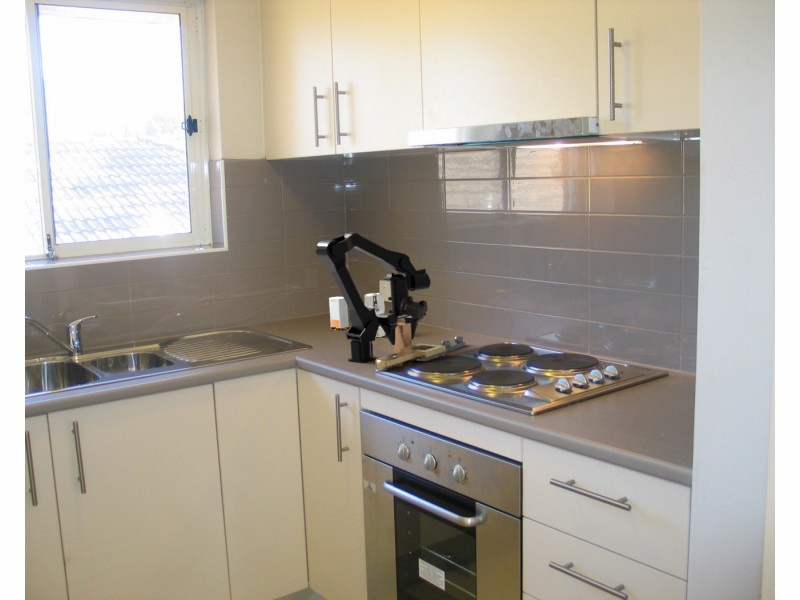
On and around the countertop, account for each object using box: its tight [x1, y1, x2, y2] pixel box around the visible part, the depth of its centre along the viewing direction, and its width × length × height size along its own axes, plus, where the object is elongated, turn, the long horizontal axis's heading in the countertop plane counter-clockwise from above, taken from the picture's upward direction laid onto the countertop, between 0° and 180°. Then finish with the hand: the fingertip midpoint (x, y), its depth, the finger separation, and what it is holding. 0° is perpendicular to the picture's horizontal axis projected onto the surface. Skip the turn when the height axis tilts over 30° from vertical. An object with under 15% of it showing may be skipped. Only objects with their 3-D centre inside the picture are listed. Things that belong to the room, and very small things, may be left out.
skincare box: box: [328, 296, 350, 328], centre depth 306 cm, size 6×4×12 cm
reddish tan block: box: [393, 322, 413, 354], centre depth 257 cm, size 4×4×9 cm
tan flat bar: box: [374, 335, 466, 372], centre depth 248 cm, size 41×10×3 cm, turn 141°
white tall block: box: [364, 292, 386, 338], centre depth 286 cm, size 7×7×15 cm
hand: (402, 342), depth 257 cm, fingers open, 9 cm apart
